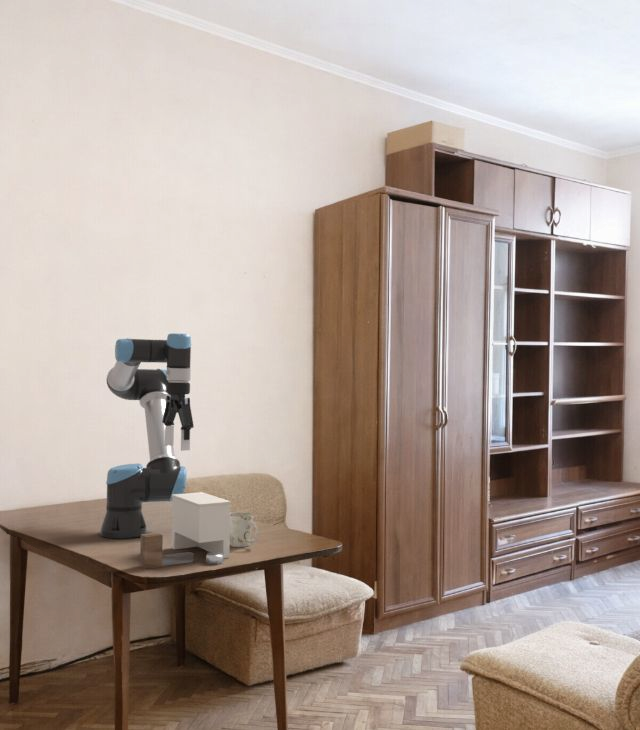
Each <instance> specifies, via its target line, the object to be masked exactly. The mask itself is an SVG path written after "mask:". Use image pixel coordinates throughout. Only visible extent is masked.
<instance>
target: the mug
mask: <svg viewBox="0 0 640 730" xmlns="http://www.w3.org/2000/svg"><path fill="white" fill-rule="evenodd" d="M252 528H253V530H254V537H253V538H252V539H251V535H252ZM258 538H259V528H258V526H257V524H256V523H255V522H254V513H253V512H247V511H234V512H230V547H233V548H246V547H249V546H250V544H253V543H254V542H256V541H257V540H258Z"/></svg>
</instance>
